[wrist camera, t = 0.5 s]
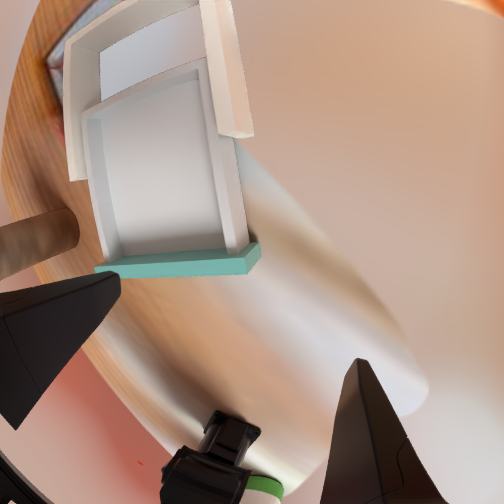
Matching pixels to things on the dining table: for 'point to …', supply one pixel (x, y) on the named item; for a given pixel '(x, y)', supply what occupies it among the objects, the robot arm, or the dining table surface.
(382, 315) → the dining table surface
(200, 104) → the grey tray
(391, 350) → the dining table surface
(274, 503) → the wine bottle
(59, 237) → the pepper mill
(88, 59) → the tray sleeve
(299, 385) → the dining table surface
